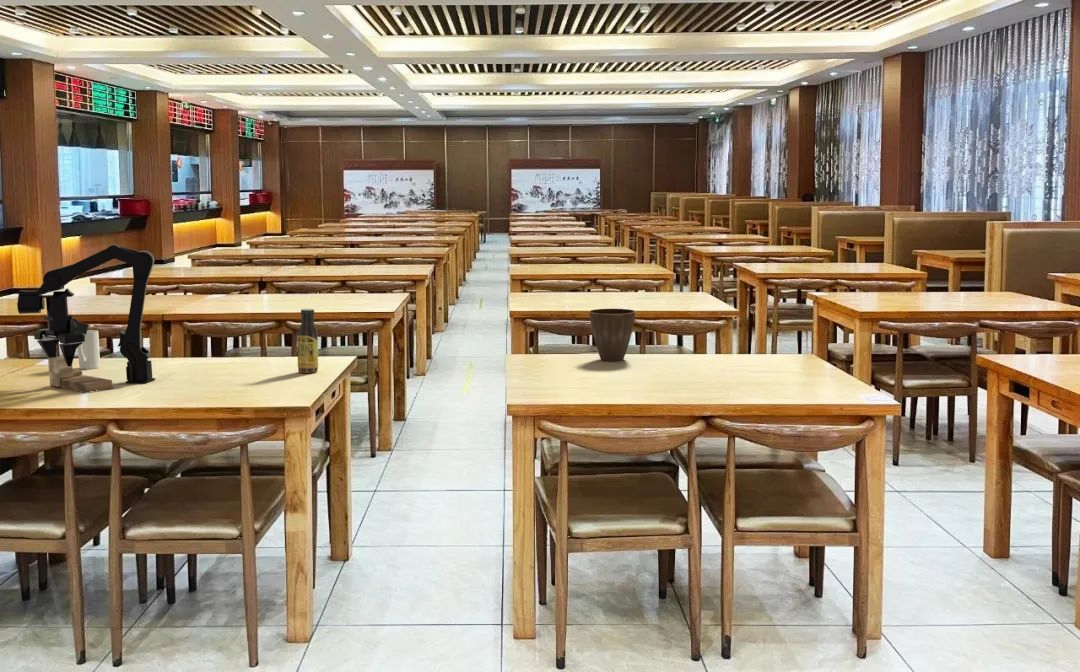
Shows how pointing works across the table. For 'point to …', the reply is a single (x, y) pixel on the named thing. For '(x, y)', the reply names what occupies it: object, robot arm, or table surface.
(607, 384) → the table surface
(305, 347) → the sauce bottle
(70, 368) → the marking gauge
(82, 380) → the walnut board
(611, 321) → the plant pot
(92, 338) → the mug
